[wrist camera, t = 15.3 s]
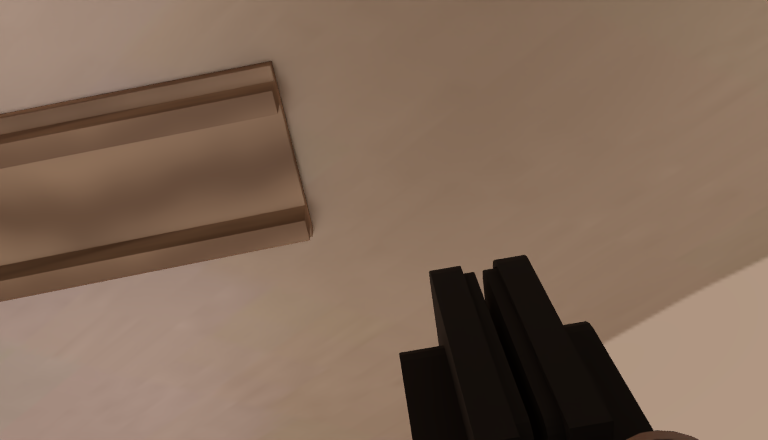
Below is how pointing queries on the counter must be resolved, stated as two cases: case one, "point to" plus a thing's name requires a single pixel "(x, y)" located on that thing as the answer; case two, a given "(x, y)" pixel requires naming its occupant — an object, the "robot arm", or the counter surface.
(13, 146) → the chute
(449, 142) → the counter surface
